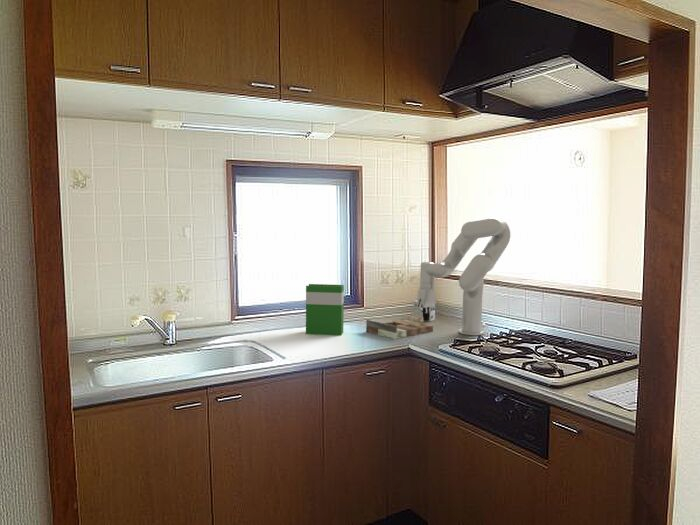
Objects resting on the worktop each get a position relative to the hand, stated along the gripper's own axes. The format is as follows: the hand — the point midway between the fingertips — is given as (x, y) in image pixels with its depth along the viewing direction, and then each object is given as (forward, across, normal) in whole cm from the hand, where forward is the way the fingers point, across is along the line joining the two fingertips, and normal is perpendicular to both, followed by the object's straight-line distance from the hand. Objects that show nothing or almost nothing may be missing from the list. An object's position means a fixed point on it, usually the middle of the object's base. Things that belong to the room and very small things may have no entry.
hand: (425, 320), depth 273 cm
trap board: (+4, +17, -3) cm, 18 cm away
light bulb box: (+4, -17, -16) cm, 24 cm away
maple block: (+1, +8, 0) cm, 8 cm away
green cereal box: (+5, +49, -24) cm, 55 cm away
